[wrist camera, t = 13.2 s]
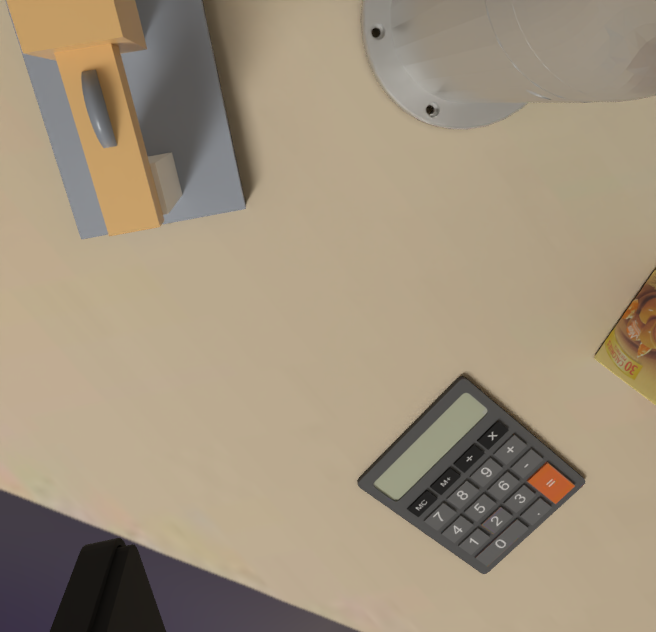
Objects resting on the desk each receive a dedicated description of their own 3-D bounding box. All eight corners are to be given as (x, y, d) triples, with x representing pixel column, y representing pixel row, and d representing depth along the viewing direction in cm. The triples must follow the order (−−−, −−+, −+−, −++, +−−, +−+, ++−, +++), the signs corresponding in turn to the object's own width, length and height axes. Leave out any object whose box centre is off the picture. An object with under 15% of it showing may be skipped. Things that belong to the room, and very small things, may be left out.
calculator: (485, 577, 50) (356, 486, 45) (481, 569, 51) (354, 479, 46) (588, 483, 48) (464, 377, 43) (582, 476, 49) (460, 372, 44)
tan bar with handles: (71, -255, 25) (21, -356, 20) (186, 207, 32) (172, 229, 27) (-24, -241, 25) (-102, -340, 20) (113, 221, 32) (83, 246, 27)
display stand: (148, -252, 30) (113, -372, 22) (245, 204, 38) (244, 230, 30) (-56, -223, 29) (-162, -336, 22) (87, 234, 37) (46, 267, 30)
